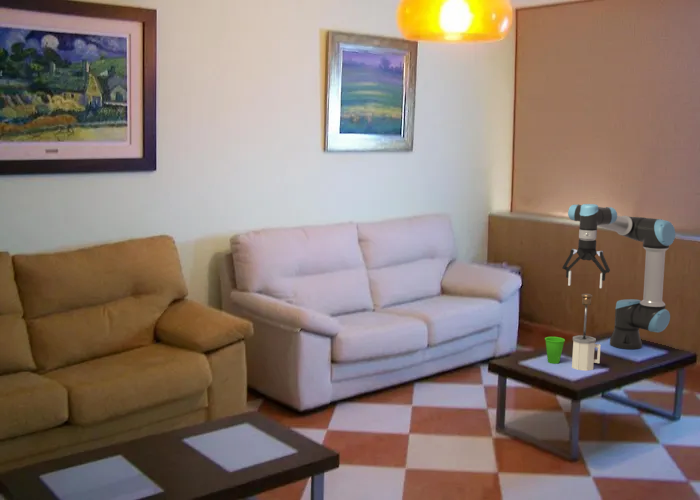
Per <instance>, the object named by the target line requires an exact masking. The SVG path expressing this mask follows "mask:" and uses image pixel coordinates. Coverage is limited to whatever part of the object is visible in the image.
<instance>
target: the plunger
mask: <svg viewBox="0 0 700 500" xmlns="http://www.w3.org/2000/svg"><path fill="white" fill-rule="evenodd" d="M581 297H582V298H581V299H582V300H581V302H582V303H581V304H582V305H583V306H584V316H583V318H584V319H583V334H582V336H583V339H585V337H586V336H587V323H588V322H587V321H588V320H587V318H588V306H591V303H592V298H593V294H591V293H581Z"/></svg>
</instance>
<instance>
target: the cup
mask: <svg viewBox="0 0 700 500" xmlns="http://www.w3.org/2000/svg"><path fill="white" fill-rule="evenodd" d="M544 341H545V348H546V355H547V356H546V357H547V359H546V360H547V363H549V364H550V365H551V364H552V365H556V364H557V365H558V364H559V363H560V360H561V358H562V357H561V356H562V354H563V353H562V352H563V349H564V344H565V342H566V340H565V338H563V337H558V336H547V337H544Z"/></svg>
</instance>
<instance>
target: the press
mask: <svg viewBox="0 0 700 500" xmlns="http://www.w3.org/2000/svg"><path fill="white" fill-rule="evenodd" d="M572 341H573V343H572V357H571V369H574V370H577V371H586V372H587V371H592V370H594V363H595V364H600V358H601V344H600V343H596V342H597V340H596V337H593V336H589V335H586V337H585V339H583V335H582V334H581V335H573V336H572ZM595 348H596V349H597V356H596V358H595Z"/></svg>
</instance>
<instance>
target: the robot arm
mask: <svg viewBox="0 0 700 500" xmlns="http://www.w3.org/2000/svg"><path fill="white" fill-rule="evenodd" d="M567 217H568V218H569V219H570V221H574V222H579V227H578V228H579V231H578V247H577V249H575V248H572V249H570V253H569V255H568V257H567V259H566V260H565V262H564V263H563V265H562V269H563V270H565V277H566V278H567V279H568V280H567V281H568V283H567V286H571V284H572V270H571V269H572V268H573V267H574V266H575V265H576V264H577V263H578V262H579V261H580V260H582V261H592V262H593V263H594V264H595V266H596V267H597V269H599V271H600V276H599V289H603V281H605V280H606V274H608V273H610V272H611V269H610V267H609V265H608V262H607V260H606V258H605V256H604V251H603V250H599V251H598V250H597V235H598V227H599V228H602V229H606V230H609V231H613V232H616V233H617V235H619V236H623V237H625V238H628V239H631V240H633V241H638V242H642V248H643V249H644V250H645V261H644V262H645V263H644V264H645V266H644V277H643V278H644V282H643V297H642V298H643V299H642V300H640V299H630V298H629V299H627V298H626V299H620V300H617V301H616V303H615V312H614V313H615V314H614V327H613V332H612V334H611V337H610V339H609V345H610V346H612V347H614V348H618V349H624V350H638V349H641V348H642V347H643V345H642V344H643V341H642V340H641V336H640V335H641V334H640V330H645V331H649V332H650V333H661V332H663V331H665V330H666V328H667V327H668V325H669V323H670V320H671V313H670V312H669V310H668V309H666V303H665V302H664V300H663V292H664V278H665V277H664V276H665V264H666V263H665V262H666V261H665V260H666V251H667V250H669V248H670V246H671V245H672V244H673V243H674V241H675V238H676V230H675V227H674V224H673V223H672V222H671V221H668V220H666V219H665V220H664V219H662V218H661V219H660V218H652V217H644V216H643V217H642V216H641V217H640V216H629V215H622V216H621V215H618V212H617V210H616V209H615V208H614V207H611V206H610V207H609V206H606V207H602V206H599V205H598V204H595V203H584V204H571V205H570V206H569V208H568V211H567ZM576 253H577V255H578V257H577V258H575V260H573V262H572V263H571V264H569V263H570V261H571V260H572V258H573V256H574V255H576ZM597 255H598V257H599V258H600V260H601V262H602V264H603V266H602V264H601V263H600V262H599V260H598V259H597V258H596V256H597ZM568 264H569V266H568Z"/></svg>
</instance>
